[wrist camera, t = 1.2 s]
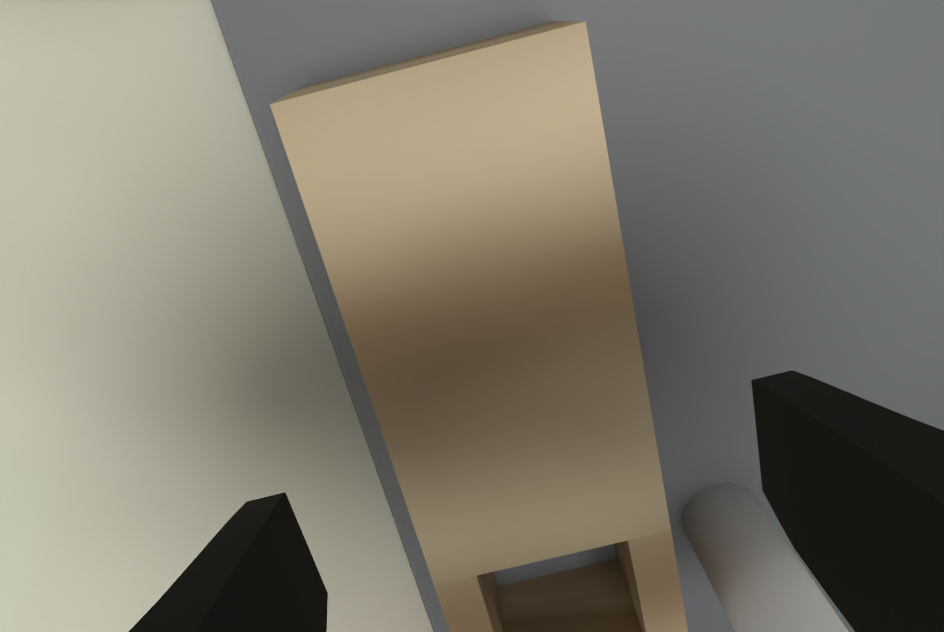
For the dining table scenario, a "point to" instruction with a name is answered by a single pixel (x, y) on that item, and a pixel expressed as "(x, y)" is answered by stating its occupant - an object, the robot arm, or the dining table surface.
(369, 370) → the oak link
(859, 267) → the slate board
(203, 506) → the dining table surface
